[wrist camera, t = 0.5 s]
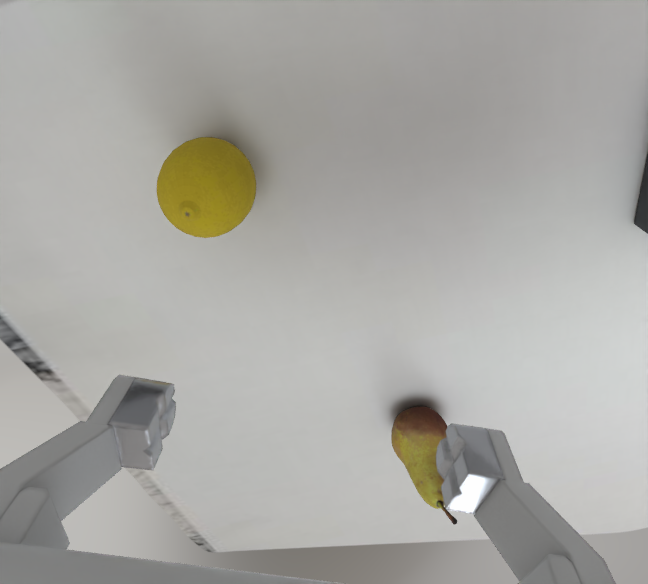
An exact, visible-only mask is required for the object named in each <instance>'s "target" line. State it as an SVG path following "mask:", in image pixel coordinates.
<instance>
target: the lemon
mask: <svg viewBox="0 0 648 584" xmlns="http://www.w3.org/2000/svg"><path fill="white" fill-rule="evenodd" d="M255 194H256V180H255V174H254V171H253V168H252V166H251V164H250V162H249V160H248V159H247V158H246V156H245V155H244V154H243V153H242V152H241V151H240V150H239V149H238V148H237V147H235V146H234V145H232V144H230V143H229V142H227V141H225V140H221V139H217V138H213V137H201V138H196V139H193V140H190V141H187V142H185V143H183V144H182V145H180V146H179V147H177V148H176V149H174V150H173V151H172V153H171V154H170V155H169V156H168V158H167V159H166V160H165V162H164V163H163V165H162V168H161V171H160V173H159V176H158V180H157V197H158V201H159V205H160V207H161V209H162V211H163V213H164V215H165V216H166V217H167V219H168V220H169V221H170V222H171V223H172V224H173V225H174V226H175V227H176V228H178V229H179V230H181V231H183V232H184V233H186V234H189V235H192V236H196V237H204V238H208V237H216V236H219V235H222V234H225V233H227V232H229V231H231V230H232V229H233V228H235V227H236V226H237V225H239V224H240V223H241V222H242V221H243V220H244V218H245V217H246V216H247V214H248V213H249V212H250V210H251V208H252V205H253V202H254V199H255Z"/></svg>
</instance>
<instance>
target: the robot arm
mask: <svg viewBox="0 0 648 584" xmlns="http://www.w3.org/2000/svg"><path fill="white" fill-rule="evenodd" d="M174 392H175V390H174V384H172V383H166V382H161V381H155V380H149V379H143V378H137V377H131V376H124V375H119V376H117V377H116V378H115V379H114V380H113V381H112V383H111V385H110V386H109V388H108V389H107V391H106V392H105V394H104V395H103V397H102V398H101V400H100V401H99V403H98V404H97V406H96V407H95V409H94V410H93V412H92V413H91V415H90V416H89V418H88V420H87V421H86V422H83V421H80V422H78V423H77V424H75V425H73V426H72V427H70V428H68V429H67V430H65V431H63V432H62V433H60V434H58V435H56V436H55V437H53V438H51V439H50V440H48V441H46V442H45V443H43V444H41V445H40V446H38V447H36V448H35V449H33V450H31V451H30V452H28V453H26V454H25V455H23V456H21V457H20V458H18V459H16V460H15V461H13V462H11V463H10V464H8V465H6V466H5V467H3V468H1V469H0V584H344V583H336V582H328V581H320V580H312V579H303V578H295V577H287V576H279V575H271V574H262V573H254V572H246V571H238V570H230V569H221V568H213V567H204V566H196V565H188V564H180V563H172V562H163V561H156V560H148V559H139V558H131V557H123V556H115V555H106V554H98V553H90V552H81V551H74V550H66V549H67V547H68V545H69V540H68V537H67V534H66V532H65V530H64V528H63V525H62V523H61V521H62V520H63V519H64V518H65V517H66V516H67V515H69V514H70V513H71V512H72V511H73V510H74V509H76V508H77V507H78V506H79V505H80V504H81V503H82V502H84V501H85V500H86V499H87V498H88V497H89V496H91V495H92V494H93V493H94V492H95V491H97V490H98V489H99V488H100V487H101V486H102V485H103V484H105V483H106V482H107V481H108V480H109V479H110V478H112V477H113V476H114V475H115V474H116V473H118V472H119V471H120V470H121V467H126V468H136V469H145V470H154V467H155V465H156V463H157V460H158V458H159V456H160V454H161V451H162V449H163V448H162V439H164V438H165V437H166V436H168V435H169V433H170V430H171V428H172V425H173V421H174V418H175V411H176V402H175V401H174V400H173V399H172V397H173V395H174ZM446 435H447V437H446V438H444V439H442V440H440V442H439V445H438V447H437V452H436V465H437V471H438V473H439V474H440V475H441V477H442V478H443V479H444V482H443V484H442V486H441V490H442V495H443V500H444V504H445V509H446V510H452V511H458V512H464V513H470V514H475V515H474V517H475V518H476V519H477V521H478V522H479V524H480V525H481V527H482V528H483V530H484V531H485V532H486V534H487V535H488V537H489V538H490V540H491V541H492V542H493V544H494V545H495V547H496V548H497V550H498V551H499V552H500V554H501V555H502V557H503V558H504V560H505V561H506V563H507V564H508V565H509V567H510V568H511V570H512V571H513V573H514V574H515V575H516V577H517V578H518V580H519V581H520V582H519V583H518V584H616V583H615V581H614V579H613V577H612V575H611V573H610V571H609V569H608V567H607V564H606V562H605V561H604V559H603V558H602V557H601V556H600V555H599V554H598V553H597V552H596V551H595V550H594V549H593V548H592V547H591V546H590V545H589V544H588V543H587V542H586V541H585V540H584V539H583V538H582V537H581V536H580V535H579V534H578V533H577V532H576V531H575V530H574V529H573V528H572V527H571V526H570V525H569V524H568V523H567V522H566V521H565V520H564V519H563V518H562V517H561V516H560V515H559V514H558V512H557V511H556V510H555V509H554V508H553V507H552V506H551V505H550V504H549V503H548V502H547V501H546V500H545V499H544V498H543V497H542V496H541V495H540V494H539V493H538V492H537V491H536V490H535V489H534V488H533V487H532V486H531V485H530V484H529V483H524V482H523V479H522V477H521V474H520V472H519V469H518V466H517V464H516V461H515V459H514V456H513V454H512V451H511V449H510V446H509V444H508V441H507V439H506V436H505V434H504V433H503V432H502V431H500V430H493V429H486V428H482V427H474V426H467V425H459V424H450V425H449V426H448V427H447V429H446Z"/></svg>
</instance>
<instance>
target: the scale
mask: <svg viewBox="0 0 648 584" xmlns="http://www.w3.org/2000/svg"><path fill="white" fill-rule="evenodd" d="M634 224H635V225H636V226H638V227H639V228H641V229H642V230H643V231H645V232H646V233H648V156H647V161H646V166H645V171H644V176H643V181H642V186H641V191H640V196H639V201H638V206H637V212H636V217H635V222H634Z"/></svg>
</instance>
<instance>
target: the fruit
mask: <svg viewBox="0 0 648 584" xmlns="http://www.w3.org/2000/svg"><path fill="white" fill-rule="evenodd" d="M446 429H447V425H446V423H445V421H444V420H443V419H442V417H441V416H440V415H439V414H438V413H437V412H436V411H434V410H432V409H431V408H429V407H420V406H419V407H412V408H409V409H406V410H404V411H402V412H401V413H400V414H399V415H398V416H397V417H396V419H395V421H394V424H393V428H392V446H393V449H394V451H395V453H396V454H397V456H398V457H399V459H400V460H401V461H402V462H403V463H404V465H405V467H406V469H407V471H408V473H409V475H410V477H411V479H412V481H413V483H414V485H415V487H416V489H417V491H418V493H419V494H420V495H421V497H422V498H423V499H424V501H425V502H426V503H427V504H429V505H430V506H432V507H434V508H437V509H438V508H441V509H442V510H443V511H444V512H445V513H446V515H447V516H448V517H449V519H450V520H451V521H452V523H453V524H457V520H456V519H455V518H454V517H453V516H452V515H451V514H450V513H449V512H448V511H447V510H446V509H445V507H444V505H445V504H444V500H443V495H442V490H441V486H442V484H443V482H444V479H443V478H442V477H441V475H440V474H439V473H438V471H437V465H436V452H437V447H438V445H439V442H440V440H442V439H444V438H446V437H447V435H446Z"/></svg>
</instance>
